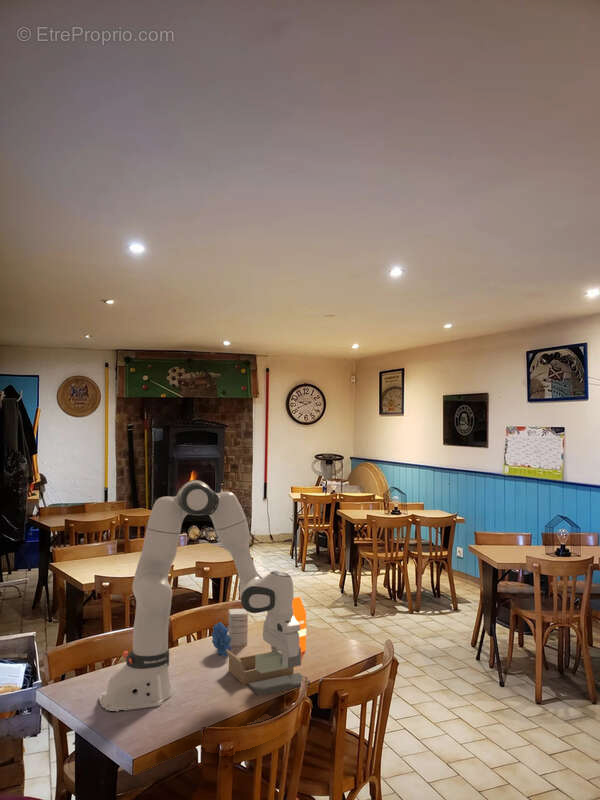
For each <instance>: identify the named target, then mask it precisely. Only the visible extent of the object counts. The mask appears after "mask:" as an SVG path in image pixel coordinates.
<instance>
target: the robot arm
mask: <svg viewBox="0 0 600 800" xmlns="http://www.w3.org/2000/svg"><path fill="white" fill-rule="evenodd" d="M239 501H240V500H239V499H238V497H237V496H236V495H235V493H233V492H232V491H221V492H215V491H214V490H212V488H210V486H209V485H208V484H207V483H206V482H204V481H202V480H198V479H191V480H188V481H187V482H184V484H183V485H182V486H181V487H180V488H179V490H177V492H175V494H174V495H173V496H162V497H158V498H157V499H156V500H155V501H154V504H153V506H152V509H151V512H150V514H149V517H148V520H147V525H146V530H145V535H144V540H143V544H142V550H141V553H140V557H139V560H138V562H137V566H136V569H135V573H134V577H133V581H132V588H131V589H132V593H133V595H134V597H135V615H134V623H133V627H132V628H133V634H132V637H133V638H132V650H131V651H130V652H128V650H125V651H123V653H122V654H121V655H122V657H123V659H124V660H125V661H126V664H124V665H123V666H122V667H121V668H120V669H119V670H118V671H116V672H115V673H114V674H113V675H112V676H111V677H110V678H109V680H108V681H107V682H108V683H107V687H106V688H107V689H106V690H105V691H102V692H101V694H100V695H99V697H98V698H99V699H98V702H100V703H99V705H100V704H101V705H100V706H102V707H103V708H105V709H107V710H109V711H116V712H120V711H119V710H124V711H129V710H138V709H146V708H154V707H159V706H161V705H162V704H163V703H164V701H166V700H167V699H169V698H171V696H172V693H173V690H172V688H171V683H170V677H169V665H170V648H169V621H170V616H171V607H172V600H173V589H172V586H171V584H170V582H169V574H170V572H171V568H172V566H173V563H174V561H175V558H176V557H177V551H178V546H179V541H180V537H181V536H180V535H181V531H182V524H183V522H184V519H185V518H186V516H187V515H191V516H196V517H197V516H209V517H210V519H211V521H212V525H213V527H214V531H215V534H216V536H217V539H218V541H219V543H220V544H221V546H222V548H223V549H225V550H226V551H227V552H228V553H229V554H230V556H231V558H232V560H233V562H234V565H235V569H236V571H237V575H238V578H239V583H238V594H239V595H238V596H239V598H240V603H241V606H242V609H245V610H246V611H247V613H250V614H259V613H265V612H267V615H266V616H265V620H264V621H263V627H262V638H263V641H264V642H266V643H267V644H268V645H270V649H271V651H272V652H275V651H278V650H279V651H280V652H282V655H283V657H282V659H281V664H282V665H283V666H285V665H287V660H288V657H294V656H297V655H298V654H299V645H300V637H299V633H298V631H300V624H299V623H298V622H297V620H296V619H295V617H294V615H293V607H292V602H293V598H294V583H293V578H292V576H291V575H290V574H289V573H287V572H285V571H282V570H281V571H280V570H272V571H270V572H269V573H268V574H267V575H265V576H264V577H261V575H260V574H259V573H258V572H257V569H256V566H255V563H254V561H253V558H252V555H251V551H250V541H251V535H250V528H249V524H248V521H247V518H246V514H245V512H244V510H243V508H242V505H241V502H239ZM102 707H101V708H102ZM103 708H102V709H103ZM105 709H104V710H105ZM107 710H106V711H107ZM109 711H108V712H109Z"/></svg>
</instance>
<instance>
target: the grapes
mask: <svg viewBox="0 0 600 800" xmlns="http://www.w3.org/2000/svg"><path fill="white" fill-rule="evenodd" d="M212 630H213V632H212V634H211V637H212V639H211V643H212V644H213V647H214V648H215V649H216V650H217V654H218V655H219V656H223V657H228V655H227V652H226V649H228V650H229V651H230V652H231V650H232V646H231V645H230V644H229V643H230V642H231V637H230V636H229V635H228V628H227V627H226V626H225V625H224V624H223V623H222V622H220V621H219V622H218V623H216V624H214V625H213V627H212Z"/></svg>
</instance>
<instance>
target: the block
mask: <svg viewBox="0 0 600 800" xmlns="http://www.w3.org/2000/svg"><path fill="white" fill-rule="evenodd" d="M268 652H269V653H266V652H263V653H264V654H260V653H258V654H259V655H255V654H254V655H255V666H254V667H255V668H254V669H256V670H257V671H258V672H260V673H261V674H262V673H266V672H271V671H276V670H281V669H286V668H290V667H294V668H296V667H299V666H301V664H302V662H301V661H302V652H301V647H300V646H299V654H298V655H297V656H294V657H288V660H287V665H285V666H283V665H282V664H281V659H282V657H283V655H282V652H280V651H275V652H271V651H268Z"/></svg>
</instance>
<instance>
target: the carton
mask: <svg viewBox="0 0 600 800" xmlns="http://www.w3.org/2000/svg"><path fill="white" fill-rule="evenodd" d="M278 651H279V650H278ZM226 652H227V655H228V656H227V657H228V672H229V673H231V674H232V675H233V676H234V677H235V678H236V679H237V680H238V681H239V682H240V683H242V684H243V685H246V684H247V685H249V683H253V682H258V681H263V680H267V679H272V678H277V677H281V676H286V675H291V674H295V673H294V668H295V667H290V668H286V669H281V670H276V671H271V672H266V673H262V674H261V673H260V672H258V671H257V670H256V669H255V668H254V669H250V670H245V669H247V668H248V669H249V668H253V667H255V655H259V654H264V653H269V652H272V650H271V651H268V652H267V651H266V652H261V653H256V654H251V655H250V654H249V655H246V656H245V655H244V656H240V657H237V655H235V654H234V653H233V652H231V651H229V650H228V649H226Z"/></svg>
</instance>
